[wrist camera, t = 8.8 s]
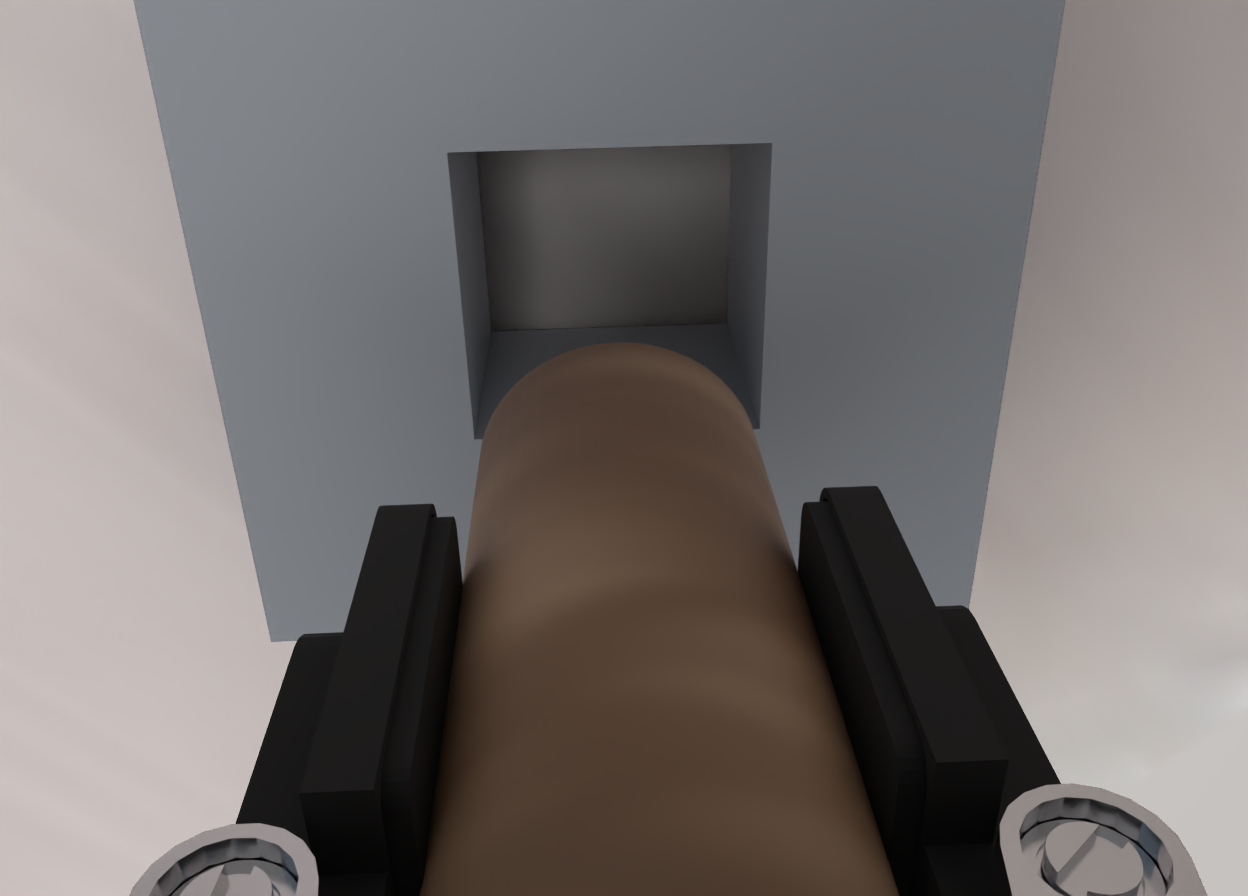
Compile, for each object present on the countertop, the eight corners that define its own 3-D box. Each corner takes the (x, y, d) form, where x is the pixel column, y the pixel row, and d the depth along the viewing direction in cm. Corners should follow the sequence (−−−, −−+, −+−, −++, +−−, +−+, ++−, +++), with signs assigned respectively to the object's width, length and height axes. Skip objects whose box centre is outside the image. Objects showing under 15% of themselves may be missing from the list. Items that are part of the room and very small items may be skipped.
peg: (763, 336, 14) (1106, 1215, 5) (752, 579, 16) (997, 1548, 7) (467, 347, 14) (293, 1264, 5) (490, 591, 15) (389, 1587, 7)
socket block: (981, -177, 21) (1093, -177, 16) (904, 486, 27) (967, 613, 23) (202, -160, 20) (99, -155, 16) (319, 508, 27) (271, 641, 23)
